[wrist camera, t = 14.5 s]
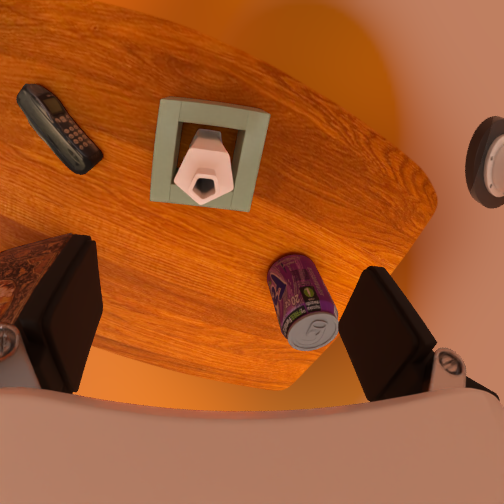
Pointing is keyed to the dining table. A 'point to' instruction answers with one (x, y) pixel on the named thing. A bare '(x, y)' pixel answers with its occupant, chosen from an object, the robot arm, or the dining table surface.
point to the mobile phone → (58, 129)
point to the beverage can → (302, 303)
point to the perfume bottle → (205, 168)
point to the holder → (216, 114)
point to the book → (25, 273)
